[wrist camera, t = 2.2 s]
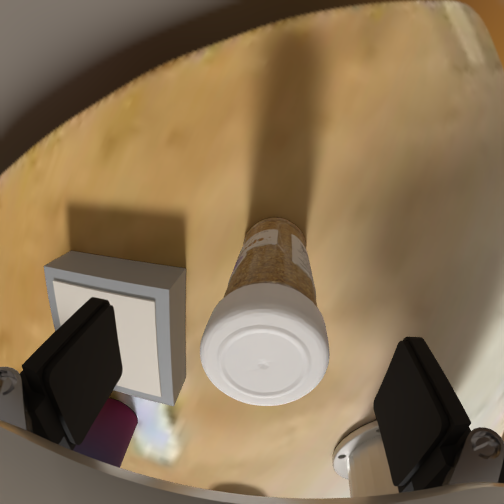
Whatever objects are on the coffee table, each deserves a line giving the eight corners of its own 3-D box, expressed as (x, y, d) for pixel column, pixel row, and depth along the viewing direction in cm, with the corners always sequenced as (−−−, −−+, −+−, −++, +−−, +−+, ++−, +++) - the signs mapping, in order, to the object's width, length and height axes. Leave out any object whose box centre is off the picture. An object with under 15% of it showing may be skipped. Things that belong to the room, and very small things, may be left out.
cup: (93, 382, 30) (25, 479, 15) (148, 409, 30) (95, 520, 16) (92, 416, 32) (38, 503, 18) (141, 439, 32) (98, 536, 18)
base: (186, 268, 24) (168, 291, 20) (185, 377, 28) (173, 407, 24) (71, 250, 25) (42, 266, 21) (85, 352, 28) (65, 375, 24)
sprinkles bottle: (247, 212, 22) (198, 296, 10) (311, 221, 22) (346, 315, 9) (240, 272, 24) (196, 400, 11) (301, 280, 24) (315, 416, 11)
